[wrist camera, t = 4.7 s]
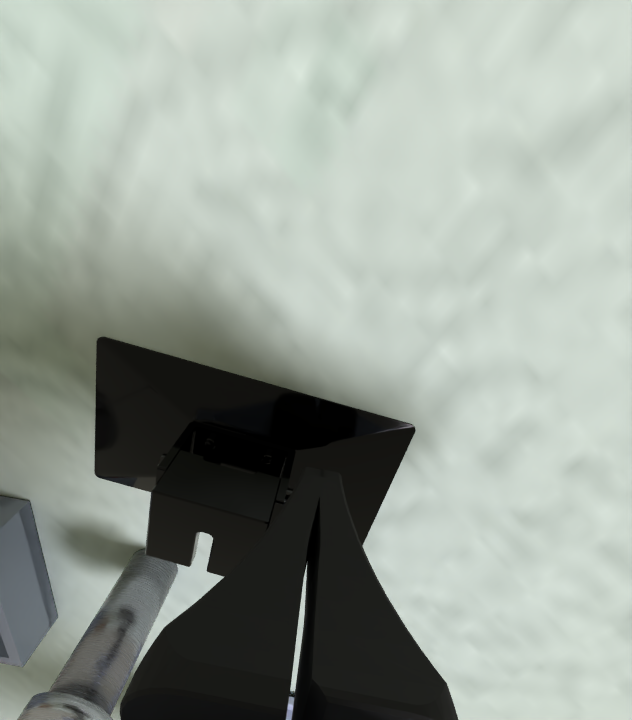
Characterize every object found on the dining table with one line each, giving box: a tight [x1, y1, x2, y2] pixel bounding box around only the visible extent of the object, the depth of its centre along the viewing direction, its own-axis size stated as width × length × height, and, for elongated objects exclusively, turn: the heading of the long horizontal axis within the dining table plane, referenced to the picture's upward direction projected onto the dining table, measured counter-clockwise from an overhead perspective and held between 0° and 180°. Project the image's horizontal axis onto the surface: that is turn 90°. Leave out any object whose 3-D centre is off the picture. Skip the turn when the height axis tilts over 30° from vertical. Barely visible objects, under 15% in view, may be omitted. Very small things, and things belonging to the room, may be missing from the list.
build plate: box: [95, 337, 415, 576], centre depth 14 cm, size 12×7×5 cm, turn 75°
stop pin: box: [17, 549, 178, 720], centre depth 16 cm, size 3×3×7 cm
